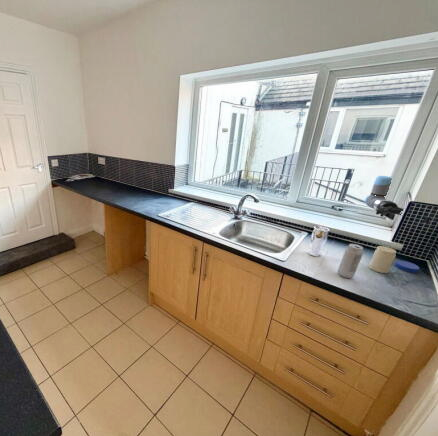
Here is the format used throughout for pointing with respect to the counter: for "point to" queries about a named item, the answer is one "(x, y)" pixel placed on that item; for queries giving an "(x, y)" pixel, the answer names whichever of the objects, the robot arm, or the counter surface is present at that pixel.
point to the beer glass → (318, 240)
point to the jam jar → (382, 259)
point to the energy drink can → (350, 260)
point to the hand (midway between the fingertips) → (410, 218)
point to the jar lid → (407, 266)
